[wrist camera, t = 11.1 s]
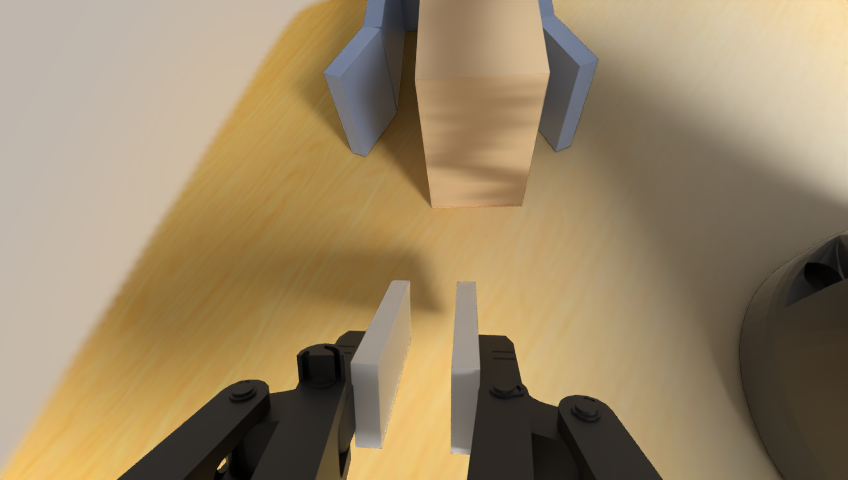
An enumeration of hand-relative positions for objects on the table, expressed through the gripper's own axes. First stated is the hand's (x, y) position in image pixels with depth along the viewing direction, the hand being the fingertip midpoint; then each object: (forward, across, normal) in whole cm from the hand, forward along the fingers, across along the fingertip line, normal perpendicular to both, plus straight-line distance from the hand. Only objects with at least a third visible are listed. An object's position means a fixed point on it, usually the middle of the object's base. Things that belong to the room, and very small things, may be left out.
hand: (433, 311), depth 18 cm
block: (+11, +2, +8) cm, 14 cm away
